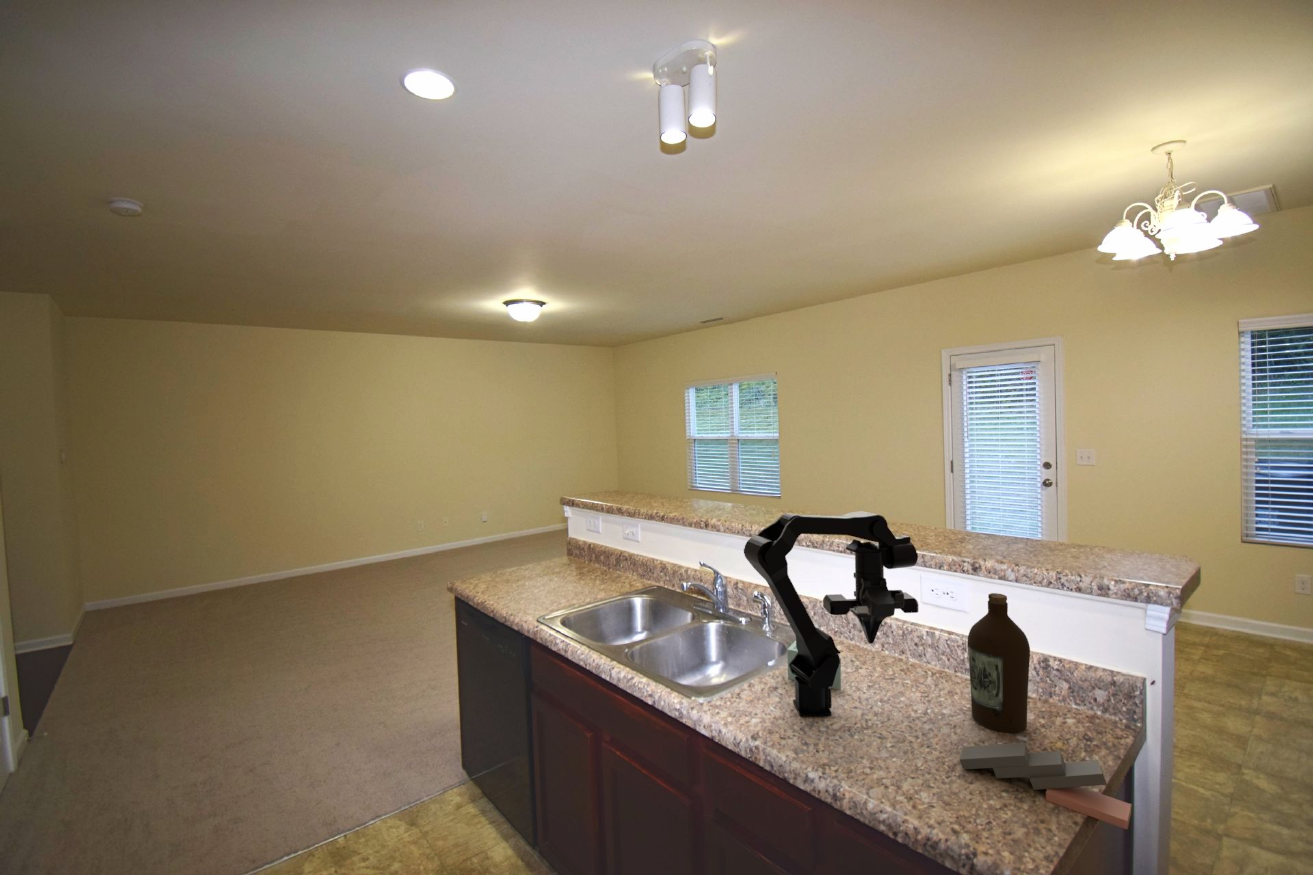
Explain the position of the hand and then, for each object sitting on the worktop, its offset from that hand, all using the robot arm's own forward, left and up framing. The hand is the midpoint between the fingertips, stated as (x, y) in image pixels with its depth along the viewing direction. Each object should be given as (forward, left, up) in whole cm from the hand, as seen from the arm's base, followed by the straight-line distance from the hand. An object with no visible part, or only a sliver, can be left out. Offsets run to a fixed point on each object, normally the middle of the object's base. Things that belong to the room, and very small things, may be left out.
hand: (870, 642), depth 126 cm
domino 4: (+16, -33, -12) cm, 38 cm away
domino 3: (+14, -31, -11) cm, 36 cm away
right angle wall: (-7, +13, -13) cm, 19 cm away
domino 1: (+7, -24, -11) cm, 28 cm away
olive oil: (+21, -11, -12) cm, 27 cm away
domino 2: (+11, -27, -11) cm, 31 cm away
